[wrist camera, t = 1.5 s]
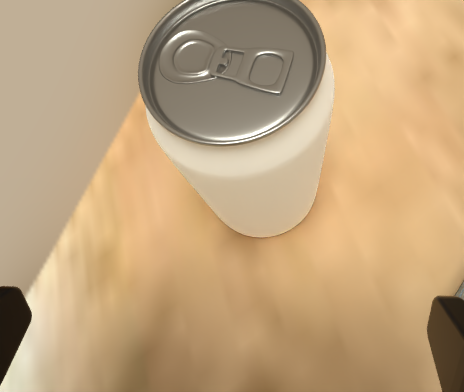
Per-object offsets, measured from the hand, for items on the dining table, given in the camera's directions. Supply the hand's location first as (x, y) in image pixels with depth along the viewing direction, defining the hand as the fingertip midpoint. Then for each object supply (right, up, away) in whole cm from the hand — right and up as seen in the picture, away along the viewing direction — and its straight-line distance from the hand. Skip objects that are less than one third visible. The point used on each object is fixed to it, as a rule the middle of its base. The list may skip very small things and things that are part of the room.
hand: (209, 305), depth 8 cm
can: (+2, +3, +14) cm, 15 cm away
